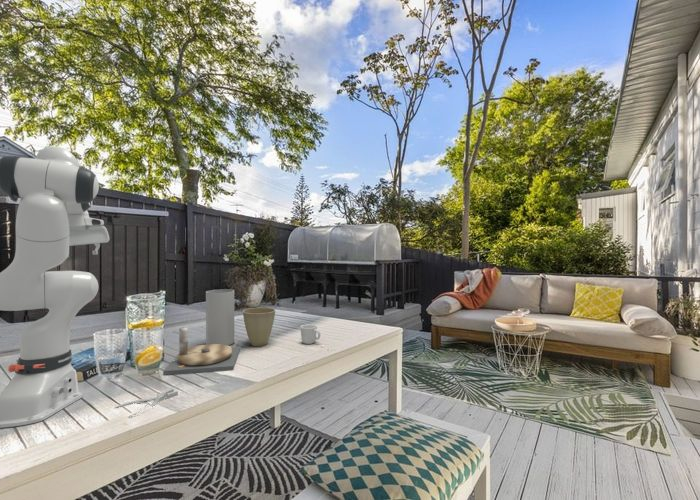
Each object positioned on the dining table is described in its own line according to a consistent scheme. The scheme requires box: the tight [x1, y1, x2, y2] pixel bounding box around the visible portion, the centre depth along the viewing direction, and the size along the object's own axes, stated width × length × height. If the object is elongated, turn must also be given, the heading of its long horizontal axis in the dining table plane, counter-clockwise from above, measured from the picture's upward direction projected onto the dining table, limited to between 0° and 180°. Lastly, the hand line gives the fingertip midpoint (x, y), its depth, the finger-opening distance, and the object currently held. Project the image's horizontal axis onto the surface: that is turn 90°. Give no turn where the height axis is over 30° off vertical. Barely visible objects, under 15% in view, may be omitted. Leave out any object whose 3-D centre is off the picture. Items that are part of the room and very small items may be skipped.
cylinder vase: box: [205, 288, 235, 346], centre depth 159 cm, size 12×12×25 cm
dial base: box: [162, 346, 241, 376], centre depth 135 cm, size 24×24×2 cm
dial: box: [177, 327, 232, 365], centre depth 135 cm, size 20×20×12 cm
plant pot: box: [242, 307, 276, 347], centre depth 159 cm, size 15×15×16 cm
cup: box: [299, 323, 321, 345], centre depth 160 cm, size 11×8×8 cm
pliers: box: [114, 388, 179, 418], centre depth 100 cm, size 10×2×15 cm
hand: (81, 256), depth 137 cm, fingers open, 8 cm apart
